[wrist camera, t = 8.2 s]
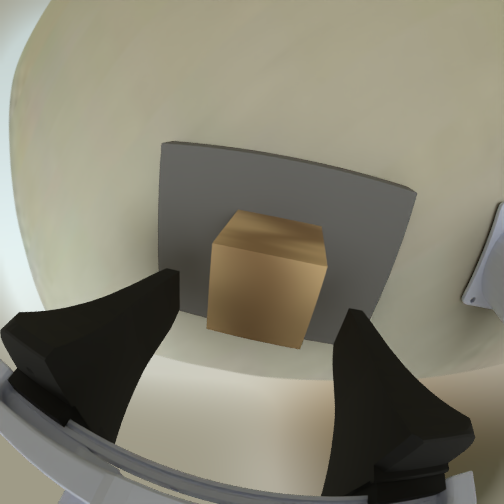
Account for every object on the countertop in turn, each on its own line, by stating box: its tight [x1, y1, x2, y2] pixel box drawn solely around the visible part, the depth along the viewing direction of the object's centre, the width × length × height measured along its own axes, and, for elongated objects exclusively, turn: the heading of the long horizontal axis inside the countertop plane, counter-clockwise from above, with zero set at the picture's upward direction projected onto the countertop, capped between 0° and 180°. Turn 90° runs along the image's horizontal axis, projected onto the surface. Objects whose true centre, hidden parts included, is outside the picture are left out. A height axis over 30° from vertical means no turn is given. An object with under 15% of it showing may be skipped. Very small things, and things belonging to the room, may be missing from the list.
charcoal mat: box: [158, 141, 417, 344], centre depth 16 cm, size 14×11×2 cm
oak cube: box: [207, 210, 328, 349], centre depth 13 cm, size 4×4×4 cm
